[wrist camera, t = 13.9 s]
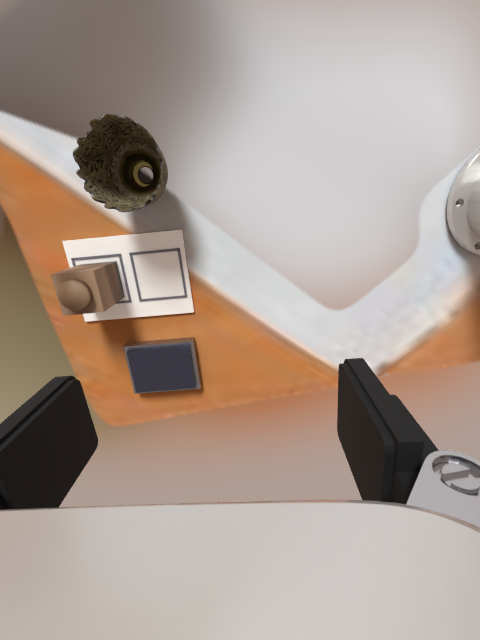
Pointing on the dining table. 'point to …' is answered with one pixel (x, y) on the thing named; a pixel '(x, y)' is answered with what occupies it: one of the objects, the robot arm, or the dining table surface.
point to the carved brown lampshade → (120, 163)
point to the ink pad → (163, 365)
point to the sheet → (140, 272)
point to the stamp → (88, 288)
